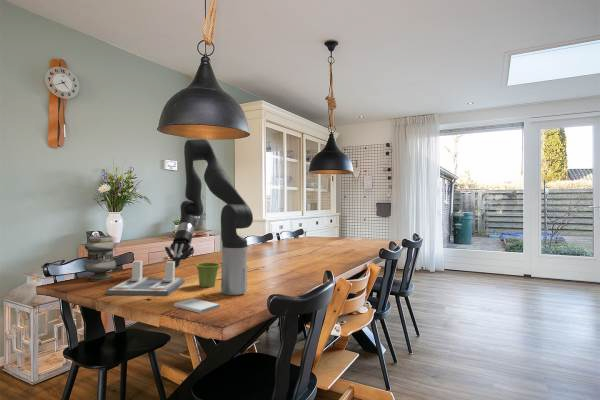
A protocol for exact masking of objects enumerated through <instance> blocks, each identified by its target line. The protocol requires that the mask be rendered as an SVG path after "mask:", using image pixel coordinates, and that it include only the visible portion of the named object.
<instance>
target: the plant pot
mask: <svg viewBox="0 0 600 400" xmlns="http://www.w3.org/2000/svg"><path fill="white" fill-rule="evenodd" d="M195 266H196V269H197V271H198V272H197V273H198V282H199V283H198V284H199V287H201V288H212V287H213V288H214V287H215V286H216V282H217V276H218V271H219V268H220V266H221V264H220V263H217V262H200V263H196V264H195Z"/></svg>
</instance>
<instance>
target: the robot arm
mask: <svg viewBox="0 0 600 400" xmlns="http://www.w3.org/2000/svg"><path fill="white" fill-rule="evenodd" d="M183 154H184V155H183V156H184V167H185V183H186V184H185V195H184V196H185V198H186V199H187V200H184V201H183V202H181V204H180V220H179V223H178V226H177V227H176V230H175V234H174V236H173V240H172V243H171V244H170V246H165V247H164V251H165V253H166V254H167V256H168V257H169V259H170V260H171V261H175V269H176V268H178V267H179V266H180V263H181V261H182V260H183V261H185V260H187V259H188V258H190V256H191V255H193V254H194V253H195V249H194V247H191V244H192V239H193V237H194V232H195V231H194V230H195V226H196V224H197V219H196V217H197V218H198V217H201V216H202V215H203V214H204V213H203V212H204V206H203V201H202V184H203V183H202V180H201V178H200V176H199V175H198V172H197V171H196V170H195V167H194V162H196V161H197V162H198V161H206V163H207V165H206V167H205V171H204V175H203V179H204V182H205V184H206V186H207V188H208V189H209V191H210V192H211V193H212V194H213V195H214V196H215V197H217V198H218V199H219V200H221V201H222V202H224V203H225V205H224V206H223V207H222V209H221V211H220V238H221V245H222V247H221V278H220V280H221V282H220V283H221V285H220V293H221V294H223V295H227V296H238V295H245V294H246V293H247V289H248V288H247V286H248V283H247V282H248V266H247V265H248V264H247V261H248V259H247V258H248V256H247V255H248V240H247V239H246V238H244V237H241V236H240V235H238V233H237V229H241V230H242V229H247V228H249V227H251V225H252V224H253V221H254V216H253V215H254V214H253V212H252V209H251V207H250V206H249V205H248V203H247V202H246V201H245V200H244V198H243V197H242V196H241V195H240V194H239V192H238V190H237V189H236V186H234V184H233V183H232V181H231V179H230V177H229V176H228V174H227V172H226V170H225V169H224V168H223V166H222V165H221V163H220V161H219V159H218V157H217V155H216V153H215V150H214V148H213V147H212V145H211V143H210V142H209V141H208V140H207V139H204V138H203V139H199V138H197V139H196V138H195V139H187V140H186V141H185V143H184V148H183ZM172 252H173V253H172Z"/></svg>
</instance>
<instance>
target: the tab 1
mask: <svg viewBox="0 0 600 400" xmlns="http://www.w3.org/2000/svg"><path fill="white" fill-rule="evenodd" d="M143 263H144V262H143V260H133V261H132V267H131V271H132V273H131V278H132V279H131V278H130V279H131V281H140V280H142V279H143V277H144V276H143Z"/></svg>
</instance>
